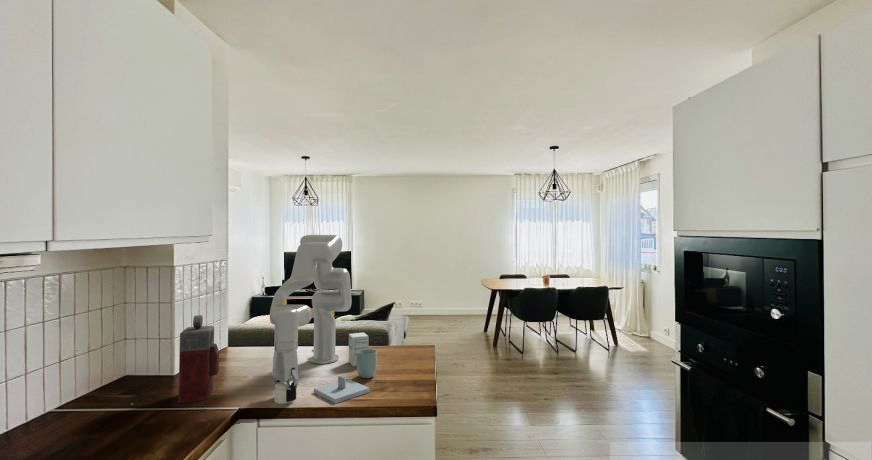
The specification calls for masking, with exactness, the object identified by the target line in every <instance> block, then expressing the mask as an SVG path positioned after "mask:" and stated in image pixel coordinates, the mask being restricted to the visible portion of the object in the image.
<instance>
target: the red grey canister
mask: <svg viewBox="0 0 872 460" xmlns="http://www.w3.org/2000/svg"><path fill="white" fill-rule="evenodd" d="M203 322H204V321H203V315H202V314H201V315H200V314H199V315H198V314H196V315H194V316H193V320H192V326H188V327H186V328H185V329H184V330H183V331H181V332H180V334H179V362H178V363H179V364H178V365H179V366H178V399H177V400H178V402H177V403H180V404H181V403H188V402H197V401H204V400H209V399H210V397H211V395H212V393H213V391H214V376H217V375H218V374H219V371H220V370H219V369H220V368H219V367H220V360H219V359H220V350H219V347H218V345H217V343H215V326H214V325H203Z"/></svg>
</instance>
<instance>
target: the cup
mask: <svg viewBox="0 0 872 460" xmlns="http://www.w3.org/2000/svg"><path fill="white" fill-rule="evenodd" d="M377 364H378V351H377V349H373V348H368V349H363V350H359V351H357V366H356V372H357V375H358V376H359V377H360V378H362V379H370V378H373V377H374V376H375V374H376V372H377Z"/></svg>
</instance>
